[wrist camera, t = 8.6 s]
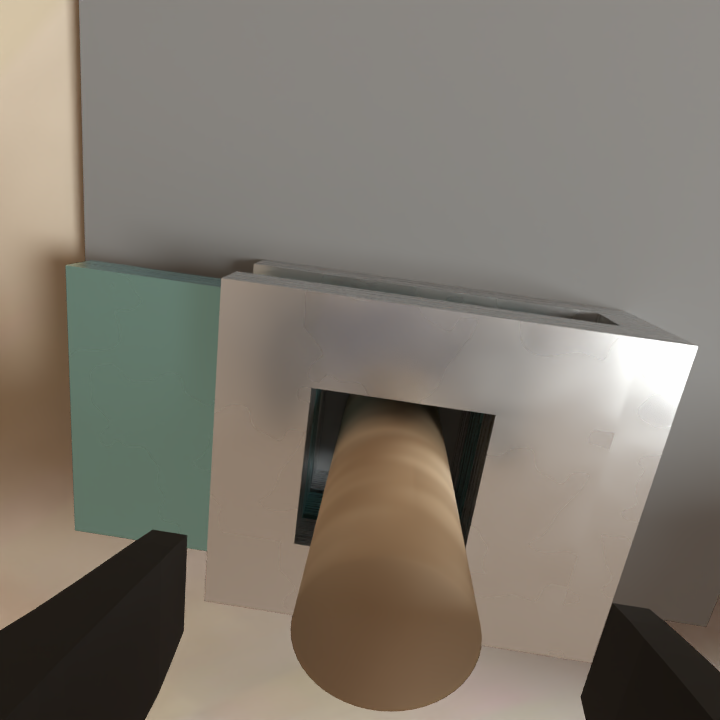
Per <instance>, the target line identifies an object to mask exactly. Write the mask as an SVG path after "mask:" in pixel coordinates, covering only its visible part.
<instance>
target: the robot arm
mask: <svg viewBox="0 0 720 720" xmlns="http://www.w3.org/2000/svg"><path fill="white" fill-rule="evenodd" d="M186 557H187V535H184V534H177V533H171V532H165V531H159V530H151V531H150V532H148V533H147V534H145V535H144V536H142V537H141V538H139V539H138V540H136V541H135V542H133V543H132V544H130V545H129V546H127V547H126V548H124V549H123V550H122V551H120V552H119V553H117V554H116V555H114V556H113V557H111V558H110V559H108V560H107V561H106V562H104V563H103V564H101V565H100V566H98V567H97V568H95V569H94V570H92V571H91V572H90V573H88V574H87V575H85V576H84V577H82V578H81V579H79V580H78V581H76V582H75V583H73V584H72V585H70V586H69V587H67V588H66V589H64V590H63V591H61V592H60V593H58V594H57V595H55V596H54V597H52V598H51V599H49V600H48V601H46V602H45V603H43V604H42V605H40V606H39V607H37V608H36V609H34V610H33V611H31V612H29V613H28V614H26V615H25V616H23V617H21V618H20V619H18V620H16V621H15V622H13V623H12V624H10V625H8V626H7V627H5V628H3V629H2V630H0V720H145V718H146V716H147V715H148V713H149V711H150V709H151V707H152V705H153V703H154V701H155V699H156V697H157V695H158V693H159V691H160V689H161V686H162V684H163V681H164V679H165V676H166V674H167V672H168V669H169V667H170V664H171V662H172V659H173V657H174V654H175V652H176V649H177V647H178V644H179V642H180V639H181V636H182V634H183V631H184V607H185V582H186ZM581 700H582V705H583V709H584V714H585V718H586V720H720V672H719V671H718V670H717V669H716V668H715V667H714V666H713V665H712V664H711V663H710V662H709V661H707V660H706V659H705V658H704V657H703V656H702V655H701V654H700V653H699V652H698V651H697V650H696V649H695V648H693V647H692V646H691V645H690V644H689V643H688V642H687V641H686V640H685V639H684V638H682V637H681V636H680V635H679V634H678V633H677V632H676V631H675V630H674V629H672V628H671V627H670V626H669V625H668V624H667V623H666V622H665V621H663V620H662V619H661V618H660V617H659V616H657V615H656V614H655V613H654V612H653V611H651V610H650V609H648V608H641V607H635V606H629V605H622V604H616V603H612V605H611V608H610V611H609V614H608V617H607V620H606V623H605V626H604V629H603V632H602V635H601V638H600V641H599V644H598V647H597V650H596V653H595V656H594V659H593V662H592V665H591V668H590V671H589V674H588V677H587V680H586V683H585V686H584V688H583V691H582V694H581Z"/></svg>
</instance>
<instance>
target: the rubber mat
mask: <svg viewBox="0 0 720 720" xmlns="http://www.w3.org/2000/svg"><path fill="white" fill-rule="evenodd" d="M79 21H80V62H81V103H82V144H83V185H84V226H85V261H89V260H94V261H101V262H108V263H115V264H122V265H129V266H136V267H143V268H150V269H157V270H164V271H171V272H178V273H185V274H192V275H199V276H206V277H213V278H220V279H221V278H223V277H225V276H227V275H230V274H232V273H234V272H236V271H238V272H245V273H252V274H253V267H254V264H255V263H257V262H259V261H261V260H264V259H266V260H273V261H280V262H287V263H294V264H301V265H308V266H315V267H322V268H329V269H336V270H344V271H351V272H358V273H365V274H372V275H379V276H386V277H393V278H400V279H407V280H414V281H421V282H428V283H435V284H442V285H449V286H456V287H463V288H470V289H478V290H485V291H492V292H499V293H506V294H513V295H520V296H527V297H534V298H541V299H548V300H555V301H562V302H569V303H576V304H583V305H590V306H597V307H605V308H612V309H619V310H624V311H626V312H628V313H630V314H632V315H635V316H637V317H639V318H641V319H643V320H645V321H647V322H649V323H651V324H653V325H655V326H657V327H659V328H661V329H663V330H665V331H668V332H670V333H672V334H674V335H676V336H678V337H680V338H682V339H684V340H686V341H688V342H690V343H692V344H694V345H696V346H698V348H697V351H696V354H695V357H694V360H693V363H692V366H691V369H690V372H689V375H688V378H687V381H686V384H685V387H684V390H683V393H682V396H681V399H680V402H679V404H678V407H677V410H676V413H675V416H674V419H673V422H672V425H671V428H670V431H669V434H668V437H667V440H666V443H665V446H664V449H663V452H662V455H661V458H660V461H659V464H658V467H657V470H656V473H655V476H654V479H653V482H652V485H651V488H650V491H649V494H648V497H647V500H646V503H645V506H644V509H643V512H642V515H641V518H640V520H639V523H638V526H637V529H636V532H635V535H634V538H633V541H632V544H631V547H630V550H629V553H628V556H627V559H626V562H625V565H624V568H623V571H622V574H621V577H620V580H619V583H618V586H617V589H616V592H615V595H614V598H613V601H612V603H616V604H622V605H629V606H635V607H641V608H648V609H650V610H651V611H653V612H654V613H655V614H656V615H657V616H659V617H660V618H661V619H662V620H666V621H673V622H679V623H685V624H692V625H698V626H704V627H707V624H708V622H709V619H710V617H711V614H712V612H713V609H714V607H715V605H716V602H717V600H718V597H719V595H720V0H79ZM349 395H350V393H343V392H337V391H330V390H326V394H325V403H324V411H323V419H322V428H321V436H320V445H319V453H318V461H317V470H324V471H329V470H330V466H331V462H332V458H333V454H334V450H335V446H336V442H337V438H338V434H339V430H340V426H341V422H342V418H343V414H344V410H345V406H346V403H347V400H348V397H349ZM437 408H438V413H439V418H440V423H441V428H442V433H443V438H444V443H445V448H446V453H447V458H448V463H449V468H450V472H451V467H452V462H453V458H454V453H455V448H456V443H457V438H458V433H459V428H460V423H461V419H462V414H463V410H458V409H451V408H445V407H438V406H437ZM611 605H612V604H611ZM610 608H611V607H610ZM609 611H610V610H609Z"/></svg>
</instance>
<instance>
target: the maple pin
mask: <svg viewBox="0 0 720 720" xmlns="http://www.w3.org/2000/svg"><path fill="white" fill-rule="evenodd" d="M291 640H292V644H293V649H294V651H295V654H296V657H297V659H298V661H299V662H300V664H301V666H302V668H303V669H304V670H305V672H306V673H307V674H308V676H309V677H310V678H311V679H312V680H313V681H314V682H315V683H316V684H317V685H318V686H320V687H321V688H322V689H323V690H325V691H326V692H328V693H329V694H331V695H332V696H334V697H336V698H338V699H340V700H342V701H344V702H346V703H349V704H352V705H354V706H358V707H361V708H365V709H371V710H377V711H405V710H412V709H417V708H421V707H424V706H427V705H430V704H433V703H435V702H437V701H439V700H441V699H443V698H445V697H447V696H448V695H450V694H451V693H452V692H454V691H455V690H456V689H457V688H459V687H460V686H461V685H462V684H463V683H464V682H465V680H466V679H467V678H468V677H469V676H470V674H471V672H472V671H473V669H474V667H475V665H476V663H477V661H478V658H479V655H480V650H481V643H482V634H481V625H480V620H479V615H478V610H477V605H476V600H475V595H474V590H473V585H472V580H471V575H470V569H469V564H468V559H467V554H466V549H465V544H464V539H463V534H462V529H461V524H460V519H459V514H458V509H457V504H456V499H455V494H454V488H453V483H452V478H451V473H450V468H449V463H448V458H447V453H446V448H445V443H444V438H443V433H442V428H441V423H440V418H439V413H438V408H437V406H431V405H424V404H418V403H411V402H404V401H397V400H391V399H384V398H377V397H370V396H364V395H357V394H350V395H349V397H348V400H347V403H346V406H345V410H344V414H343V418H342V422H341V426H340V430H339V434H338V438H337V442H336V446H335V450H334V454H333V458H332V462H331V466H330V470H329V474H328V478H327V482H326V485H325V489H324V493H323V497H322V501H321V505H320V509H319V513H318V517H317V521H316V525H315V529H314V533H313V537H312V541H311V545H310V549H309V553H308V557H307V561H306V565H305V569H304V573H303V576H302V580H301V584H300V588H299V592H298V596H297V600H296V604H295V608H294V612H293V616H292V622H291Z"/></svg>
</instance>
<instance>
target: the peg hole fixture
mask: <svg viewBox="0 0 720 720" xmlns="http://www.w3.org/2000/svg"><path fill="white" fill-rule="evenodd" d="M66 292H67V320H68V348H69V377H70V405H71V433H72V461H73V489H74V517H75V530H76V531H83V532H89V533H95V534H102V535H108V536H114V537H121V538H127V539H133V540H138V539H139V538H141V537H142V536H144V535H145V534H147V533H148V532H150V531H151V530H159V531H165V532H171V533H177V534H184V535H187V548H190V549H197V550H203V551H207V560H206V579H205V598H204V601H208V602H214V603H220V604H226V605H233V606H239V607H245V608H251V609H258V610H264V611H270V612H276V613H283V614H289V615H293V612H294V608H295V604H296V600H297V596H298V592H299V588H300V584H301V580H302V576H303V573H304V569H305V565H306V561H307V557H308V553H309V549H310V545H311V541H312V537H313V533H314V529H315V525H316V521H317V517H318V513H319V509H320V505H321V501H322V497H323V493H324V489H325V485H326V482H327V478H328V474H329V471H324V470H317V461H318V453H319V445H320V436H321V428H322V419H323V411H324V403H325V394H326V390H330V391H337V392H343V393H350V394H357V395H364V396H370V397H377V398H384V399H391V400H397V401H404V402H411V403H418V404H424V405H431V406H438V407H445V408H451V409H458V410H463V414H462V419H461V423H460V428H459V433H458V438H457V443H456V448H455V453H454V458H453V462H452V467H451V472H450V473H451V478H452V483H453V488H454V494H455V499H456V504H457V509H458V514H459V519H460V524H461V529H462V534H463V539H464V544H465V549H466V554H467V559H468V564H469V569H470V575H471V580H472V585H473V590H474V595H475V600H476V605H477V610H478V615H479V620H480V625H481V634H482V643H481V645H482V646H488V647H495V648H501V649H507V650H513V651H520V652H526V653H532V654H538V655H545V656H551V657H557V658H563V659H569V660H576V661H582V662H588V663H592V660H593V657H594V654H595V651H596V648H597V645H598V642H599V639H600V636H601V634H602V631H603V628H604V625H605V622H606V619H607V616H608V613H609V610H610V607H611V604H612V601H613V598H614V595H615V592H616V589H617V586H618V583H619V580H620V577H621V574H622V571H623V568H624V565H625V562H626V559H627V556H628V553H629V550H630V547H631V544H632V541H633V538H634V535H635V532H636V529H637V526H638V523H639V520H640V518H641V515H642V512H643V509H644V506H645V503H646V500H647V497H648V494H649V491H650V488H651V485H652V482H653V479H654V476H655V473H656V470H657V467H658V464H659V461H660V458H661V455H662V452H663V449H664V446H665V443H666V440H667V437H668V434H669V431H670V428H671V425H672V422H673V419H674V416H675V413H676V410H677V407H678V404H679V402H680V399H681V396H682V393H683V390H684V387H685V384H686V381H687V378H688V375H689V372H690V369H691V366H692V363H693V360H694V357H695V354H696V351H697V348H698V346H696V345H694V344H692V343H690V342H688V341H686V340H684V339H682V338H680V337H678V336H676V335H674V334H672V333H670V332H668V331H665V330H663V329H661V328H659V327H657V326H655V325H653V324H651V323H649V322H647V321H645V320H643V319H641V318H639V317H637V316H635V315H632V314H630V313H628V312H626V311H624V310H619V309H612V308H605V307H597V306H590V305H583V304H576V303H569V302H562V301H555V300H548V299H541V298H534V297H527V296H520V295H513V294H506V293H499V292H492V291H485V290H478V289H470V288H463V287H456V286H449V285H442V284H435V283H428V282H421V281H414V280H407V279H400V278H393V277H386V276H379V275H372V274H365V273H358V272H351V271H344V270H336V269H329V268H322V267H315V266H308V265H301V264H294V263H287V262H280V261H273V260H266V259H264V260H261V261H259V262H257V263H255V264H254V267H253V274H252V273H245V272H238V271H236V272H234V273H232V274H230V275H227V276H225V277H223V278H221V279H220V278H213V277H206V276H199V275H192V274H185V273H178V272H171V271H164V270H157V269H150V268H143V267H136V266H129V265H122V264H115V263H108V262H101V261H94V260H89V261H84V262H79V263H74V264H69V265H66Z"/></svg>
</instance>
